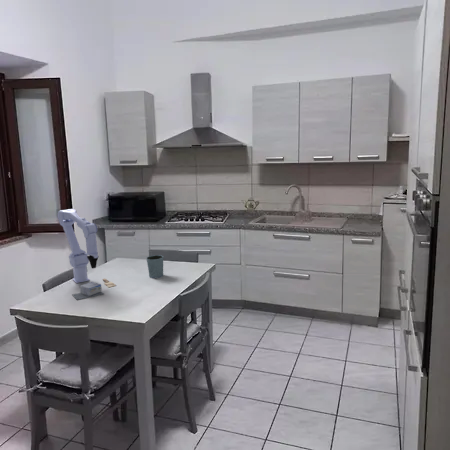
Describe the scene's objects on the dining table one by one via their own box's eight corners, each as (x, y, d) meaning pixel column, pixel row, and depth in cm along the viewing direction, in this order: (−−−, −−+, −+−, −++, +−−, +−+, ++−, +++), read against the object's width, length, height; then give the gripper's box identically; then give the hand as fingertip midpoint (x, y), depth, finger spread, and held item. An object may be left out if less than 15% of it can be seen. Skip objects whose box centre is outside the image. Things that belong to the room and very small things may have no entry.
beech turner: (100, 281, 240) (100, 279, 240) (107, 279, 243) (107, 277, 243) (108, 287, 228) (108, 286, 228) (116, 286, 231) (116, 284, 230)
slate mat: (72, 295, 218) (72, 294, 218) (98, 289, 225) (98, 288, 225) (77, 300, 210) (77, 299, 210) (103, 294, 217) (103, 293, 217)
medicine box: (80, 293, 219) (89, 296, 214) (79, 285, 218) (88, 288, 213) (92, 289, 225) (102, 291, 220) (91, 281, 224) (101, 284, 219)
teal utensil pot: (166, 273, 251) (165, 255, 249) (162, 278, 241) (160, 259, 239) (150, 273, 252) (149, 255, 250) (145, 278, 242) (144, 259, 240)
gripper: (80, 243, 232) (83, 266, 235) (87, 248, 220) (90, 272, 223) (93, 242, 236) (95, 264, 239) (100, 246, 224) (103, 269, 227)
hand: (93, 267), depth 231 cm, fingers closed
